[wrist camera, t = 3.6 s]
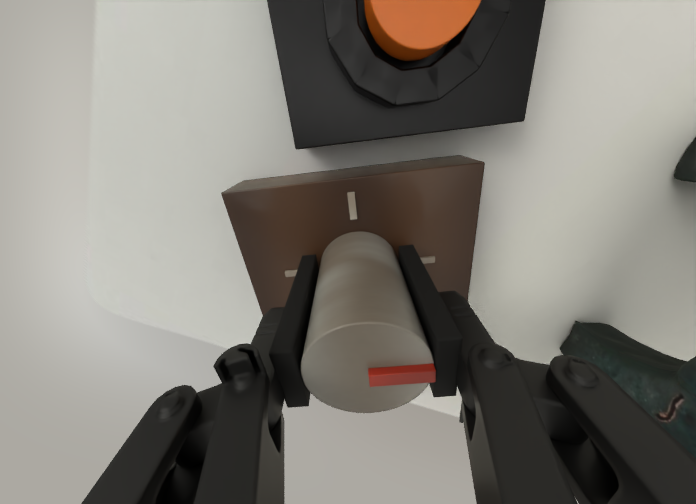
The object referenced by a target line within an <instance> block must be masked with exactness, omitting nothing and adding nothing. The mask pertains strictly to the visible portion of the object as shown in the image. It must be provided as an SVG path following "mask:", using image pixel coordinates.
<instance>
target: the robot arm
mask: <svg viewBox="0 0 696 504" xmlns="http://www.w3.org/2000/svg"><path fill="white" fill-rule="evenodd" d="M399 264H400V267H401V270H402V273H403V275H404V278H405V281H406V284H407V286H408V289H409V292H410V295H411V297H412V300H413V303H414V306H415V308H416V311H417V314H418V317H419V319H420V322H421V325H422V328H423V330H424V333H425V336H426V339H427V341H428V344H429V347H430V350H431V352H432V355H433V360H434V366H435V369H436V381H435V382H432V383H429V384H430V387H431V390H432V393H433V396H434V397H444V396H456V390H457V387H458V389H459V391H460V394H461V396H462V404H461V411H460V422H461V423H463V422H464V428H465V433H466V439H467V446H468V452H469V459H470V465H471V470H472V477H473V483H474V489H475V495H476V501H477V504H577V501H578V503H579V504H696V458H695V457H694V456H693V455H692V454H690V453H689V452H688V451H687V450H686V449H685V448H684V447H683V446H682V445H681V444H680V443H679V442H678V441H677V440H676V439H675V438H674V437H673V436H672V435H671V434H670V433H668V432H667V431H666V430H665V429H664V428H663V427H662V426H661V425H660V424H659V423H658V422H657V421H656V420H655V419H654V418H653V417H652V416H651V415H650V414H649V413H647V412H646V411H645V410H644V409H643V408H642V407H641V406H640V405H639V404H638V403H637V402H636V401H635V400H634V399H633V398H632V397H631V396H630V395H629V394H628V393H626V392H625V391H624V390H623V389H622V388H621V387H620V386H619V385H618V384H617V383H616V382H615V381H614V380H613V379H612V378H611V377H610V376H609V375H608V374H607V373H605V372H604V371H603V370H602V369H600V368H599V367H598V366H596V365H595V364H593V363H591V362H589V361H587V360H585V359H582V358H579V357H575V356H570V355H560V356H557V357H554V358H553V360H552V361H551V362H550V365H546V364H540V363H535V362H529V361H524V360H520V359H517V358H515V357H514V355H513V354H512V353H511V352H509V351H508V350H507V349H506V348H504V347H502V346H499V345H497V344H495V343H494V341H493V340H492V338H491V337H490V335H489V334H488V332H487V331H486V329H485V328H484V326H483V325H482V323H481V322H480V320H479V318H478V317H477V315H475V312H474V311H473V309H472V308H470V305H469V303H468V302H467V300H466V299H465V297H463V296H462V295H460V294H459V293H458V292H456V291H455V290H454V291H443V292H438V290H437V289H436V287H435V285H434V283H433V281H432V279H431V277H430V275H429V274H428V272H427V270H426V268H425V266H424V264H423V262H422V260H421V259H420V257H419V255H418V253H417V251H416V249H415V247H414V245H413V244H412V245H403V246H399ZM318 273H319V267H318V262H317V257H316V254H314V255H304V256H302V258H301V261H300V264H299V267H298V270H297V272H296V275H295V278H294V281H293V284H292V287H291V290H290V293H289V296H288V299H287V302H286V305H285V307H277V308H270V310H269V311H268V312H267V313H266V314H265V315H264V316H263V317H262V320H261V322H260V324H259V327H258V329H257V331H256V335H255V336H254V338H253V340H252V342H251V344H239V345H237V346H234V347H231V348H230V349H228V350H227V351H225V352H224V353H223V354H222V355H221V356H220V357H219V358H218V359H217V361H216V363H215V364H214V368H215V370H216V372H217V374H218V376H219V378H220V380H221V382H222V383H221V384H219V385H217V386H214V387H212V388H209V389H206V390H203V391H200V392H198V393H196V391H195V390H194V389H193V388H192V387H191V386H187V385H182V386H178V387H175V388H173V389H171V390H169V391H167V392H165V393H164V394H163V395H162V396H160V397H159V398H158V399H157V400H156V401H155V402H154V403H153V404H152V405H151V407H150V408H149V409H148V411H147V412H146V413H145V415H144V416H143V418H142V419H141V420H140V422H139V423H138V425H137V426H136V427H135V429H134V430H133V432H132V433H131V435H130V436H129V438H128V439H127V440H126V442H125V443H124V444H123V446H122V447H121V449H120V450H119V451H118V453H117V454H116V456H115V457H114V458H113V460H112V461H111V463H110V464H109V466H108V467H107V469H106V470H105V471H104V473H103V474H102V475H101V477H100V478H99V480H98V481H97V482H96V484H95V485H94V487H93V488H92V489H91V491H90V492H89V494H88V495H87V497H86V498H85V499H84V501H83V502H82V504H284V418H283V414H282V407H283V402H284V399H285V401H286V404H287V406H288V407H302V406H309V399H310V391H309V390H308V389H307V387H306V386H305V384H304V382H303V379H302V376H301V360H302V355H303V350H304V345H305V340H306V335H307V329H308V324H309V319H310V314H311V309H312V304H313V299H314V294H315V289H316V284H317V278H318ZM574 496H575V497H574ZM575 498H576V499H577V501H576V499H575Z"/></svg>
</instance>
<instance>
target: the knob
mask: <svg viewBox="0 0 696 504" xmlns="http://www.w3.org/2000/svg"><path fill="white" fill-rule="evenodd" d="M301 376H302V379H303V382H304V384H305V386H306V387H307V389H308V390H309V391H310V392H311V394H313V395H314V396H315V397H316V398H317V399H319V400H320V401H321V402H323V403H325V404H327V405H329V406H331V407H334V408H337V409H340V410H344V411H349V412H356V413H374V412H381V411H386V410H390V409H394V408H397V407H399V406H402V405H404V404H406V403H408V402H410V401H411V400H413V399H414V398H416V397H417V396H418V395H420V394H421V393H422V392H423V391H424V389H425V388H426V387H427V386H428V384H429V383H432V382H435V381H436V369H435V366H434V360H433V355H432V352H431V350H430V347H429V344H428V341H427V339H426V336H425V333H424V330H423V328H422V325H421V322H420V319H419V317H418V314H417V311H416V308H415V306H414V303H413V300H412V297H411V295H410V292H409V289H408V286H407V284H406V281H405V278H404V275H403V273H402V270H401V267H400V264H399V262H398V259H397V256H396V254H395V251H394V249H393V248H392V246H391V245H390V244H389V243H388V242H387V241H386V240H385V239H383V238H382V237H380V236H378V235H376V234H373V233H369V232H361V231H359V232H350V233H347V234H344V235H341V236H339V237H338V238H336V239H335V240H333V241H332V242H331V243H330V244H329V245H328V246H327V248H326V249H325V251H324V253H323V255H322V258H321V263H320V268H319V273H318V278H317V284H316V289H315V294H314V299H313V304H312V309H311V314H310V319H309V324H308V329H307V335H306V340H305V345H304V350H303V355H302V360H301Z"/></svg>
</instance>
